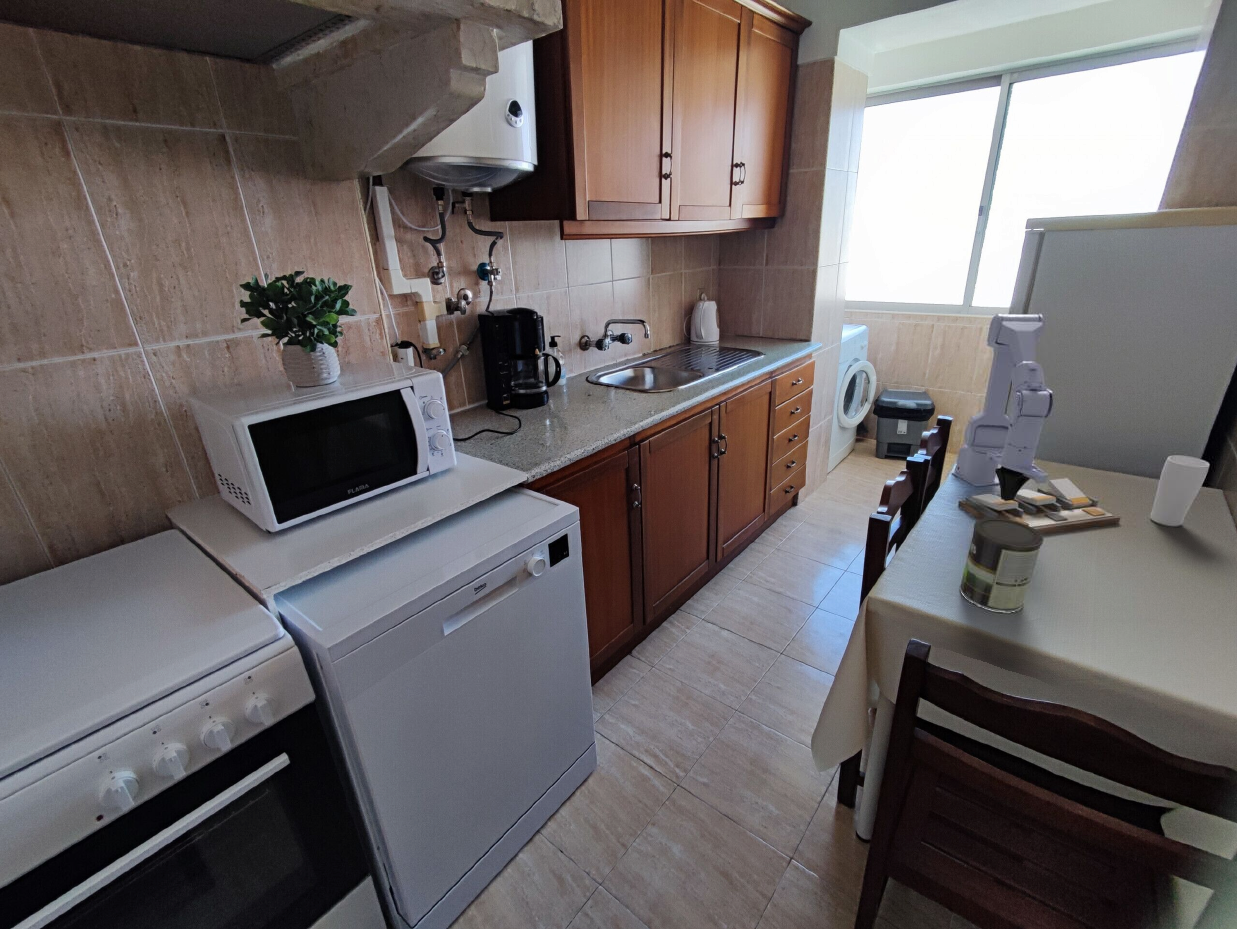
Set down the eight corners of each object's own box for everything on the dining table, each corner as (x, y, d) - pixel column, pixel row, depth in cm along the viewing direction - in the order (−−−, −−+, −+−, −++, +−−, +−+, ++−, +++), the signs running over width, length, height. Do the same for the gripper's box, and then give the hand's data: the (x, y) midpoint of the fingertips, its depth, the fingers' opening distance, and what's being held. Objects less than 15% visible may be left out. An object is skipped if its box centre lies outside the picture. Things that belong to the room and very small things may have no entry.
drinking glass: (1150, 525, 125) (1173, 464, 120) (1141, 512, 131) (1162, 453, 125) (1190, 531, 122) (1215, 468, 117) (1179, 518, 128) (1203, 457, 122)
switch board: (957, 506, 138) (960, 494, 136) (1056, 493, 142) (1059, 482, 140) (1010, 538, 123) (1014, 526, 122) (1118, 522, 127) (1123, 510, 126)
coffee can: (954, 600, 104) (969, 534, 99) (964, 574, 111) (979, 512, 106) (1020, 621, 98) (1040, 552, 92) (1027, 593, 105) (1046, 527, 100)
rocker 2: (1046, 483, 137) (1049, 479, 136) (1064, 481, 138) (1067, 477, 137) (1070, 508, 131) (1074, 504, 130) (1088, 505, 132) (1092, 502, 131)
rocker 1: (971, 500, 135) (971, 495, 135) (989, 498, 136) (990, 493, 135) (998, 510, 127) (999, 504, 127) (1017, 507, 128) (1018, 502, 128)
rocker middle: (1007, 496, 136) (1008, 490, 136) (1025, 493, 137) (1026, 488, 137) (1036, 505, 129) (1037, 499, 128) (1055, 502, 129) (1056, 497, 129)
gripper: (1066, 453, 116) (1050, 511, 122) (1010, 431, 130) (997, 484, 135) (1037, 457, 115) (1021, 515, 121) (983, 434, 129) (971, 487, 134)
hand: (1006, 499), depth 128 cm, fingers closed
